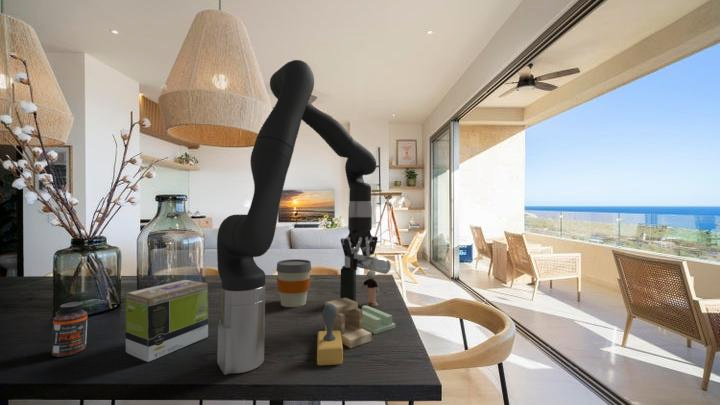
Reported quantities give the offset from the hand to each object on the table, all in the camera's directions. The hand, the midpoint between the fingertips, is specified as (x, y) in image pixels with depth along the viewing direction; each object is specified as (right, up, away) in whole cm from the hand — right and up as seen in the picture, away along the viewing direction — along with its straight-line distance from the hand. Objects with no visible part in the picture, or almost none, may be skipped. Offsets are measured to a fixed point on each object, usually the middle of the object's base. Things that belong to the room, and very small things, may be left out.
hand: (359, 269), depth 95 cm
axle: (+3, +3, -4) cm, 6 cm away
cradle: (+4, -16, -5) cm, 17 cm away
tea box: (-48, -15, -20) cm, 54 cm away
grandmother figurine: (+4, -16, +14) cm, 21 cm away
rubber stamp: (-7, -15, -24) cm, 29 cm away
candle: (-4, -16, +14) cm, 22 cm away
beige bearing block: (-3, -15, -14) cm, 21 cm away
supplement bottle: (-69, -15, -24) cm, 75 cm away
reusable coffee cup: (-24, -16, +14) cm, 32 cm away
